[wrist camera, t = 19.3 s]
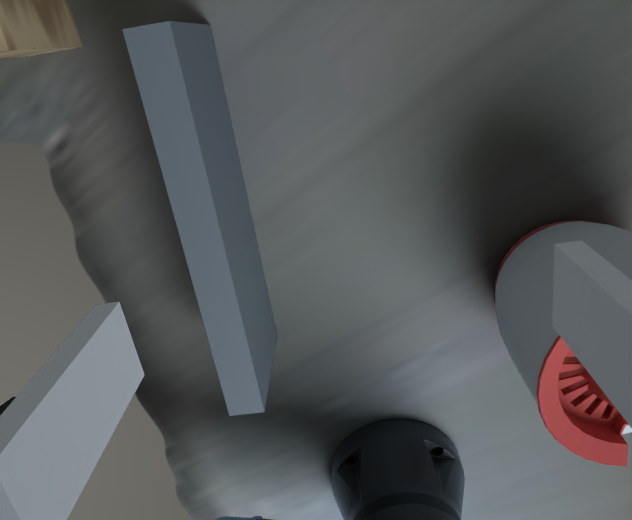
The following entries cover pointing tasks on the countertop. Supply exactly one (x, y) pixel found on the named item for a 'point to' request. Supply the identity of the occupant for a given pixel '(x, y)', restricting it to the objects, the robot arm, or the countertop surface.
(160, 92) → the panel
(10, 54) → the oak block
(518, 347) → the citrus juicer
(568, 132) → the countertop surface
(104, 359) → the robot arm
